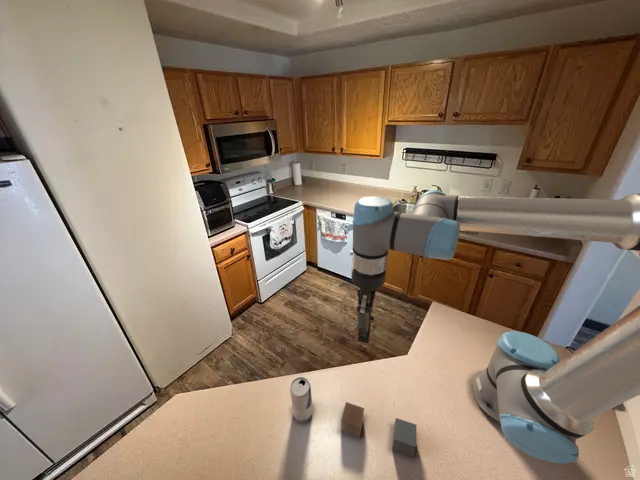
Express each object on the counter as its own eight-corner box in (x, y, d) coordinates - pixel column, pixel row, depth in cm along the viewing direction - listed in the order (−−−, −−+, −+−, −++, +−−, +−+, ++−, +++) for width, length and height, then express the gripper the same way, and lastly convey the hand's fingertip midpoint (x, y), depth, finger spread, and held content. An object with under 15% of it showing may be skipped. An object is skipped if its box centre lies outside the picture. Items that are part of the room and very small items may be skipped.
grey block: (413, 434, 67) (416, 424, 64) (412, 457, 62) (415, 447, 60) (393, 428, 68) (395, 417, 66) (391, 449, 64) (393, 439, 62)
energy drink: (315, 406, 73) (313, 380, 68) (307, 425, 69) (304, 399, 63) (299, 399, 75) (296, 373, 70) (290, 417, 71) (285, 391, 66)
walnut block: (363, 418, 70) (364, 407, 68) (359, 438, 66) (360, 428, 64) (345, 412, 72) (345, 401, 70) (340, 431, 68) (341, 421, 65)
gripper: (357, 249, 64) (354, 319, 75) (345, 281, 53) (344, 357, 64) (388, 254, 61) (380, 325, 73) (382, 287, 51) (374, 365, 62)
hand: (363, 339), depth 68 cm, fingers closed
